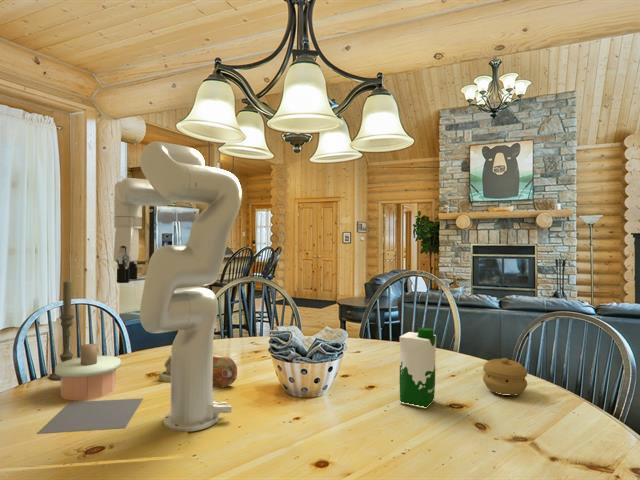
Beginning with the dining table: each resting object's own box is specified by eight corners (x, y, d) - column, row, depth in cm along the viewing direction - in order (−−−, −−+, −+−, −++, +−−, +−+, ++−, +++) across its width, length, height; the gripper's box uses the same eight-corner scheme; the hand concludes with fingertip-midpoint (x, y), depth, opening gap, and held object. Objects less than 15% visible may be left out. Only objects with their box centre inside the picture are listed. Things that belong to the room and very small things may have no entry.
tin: (192, 381, 129) (193, 353, 129) (200, 378, 132) (200, 351, 132) (231, 389, 122) (232, 360, 122) (238, 386, 125) (239, 357, 125)
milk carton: (428, 411, 108) (429, 333, 108) (395, 404, 113) (396, 328, 113) (438, 400, 116) (439, 327, 116) (406, 394, 121) (407, 323, 121)
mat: (143, 400, 113) (143, 398, 113) (125, 430, 96) (125, 427, 96) (69, 404, 110) (69, 402, 110) (36, 436, 92) (36, 433, 92)
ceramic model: (176, 369, 141) (176, 339, 141) (207, 371, 139) (208, 341, 139) (152, 383, 127) (152, 349, 127) (186, 386, 125) (187, 352, 125)
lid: (127, 358, 128) (127, 338, 128) (111, 375, 112) (111, 352, 112) (68, 360, 125) (68, 339, 125) (44, 378, 109) (44, 354, 109)
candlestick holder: (52, 372, 135) (53, 278, 135) (85, 369, 139) (86, 277, 139) (45, 381, 127) (46, 281, 127) (80, 378, 130) (81, 280, 130)
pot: (484, 397, 119) (484, 361, 119) (481, 384, 130) (481, 351, 130) (530, 403, 115) (531, 366, 115) (523, 388, 126) (524, 355, 126)
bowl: (120, 384, 126) (120, 360, 126) (106, 400, 113) (106, 374, 113) (72, 386, 123) (72, 362, 123) (52, 403, 111) (53, 376, 111)
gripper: (122, 224, 134) (121, 278, 134) (105, 222, 117) (104, 284, 117) (147, 224, 136) (147, 278, 136) (134, 222, 119) (133, 284, 119)
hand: (127, 281), depth 127 cm, fingers open, 9 cm apart
